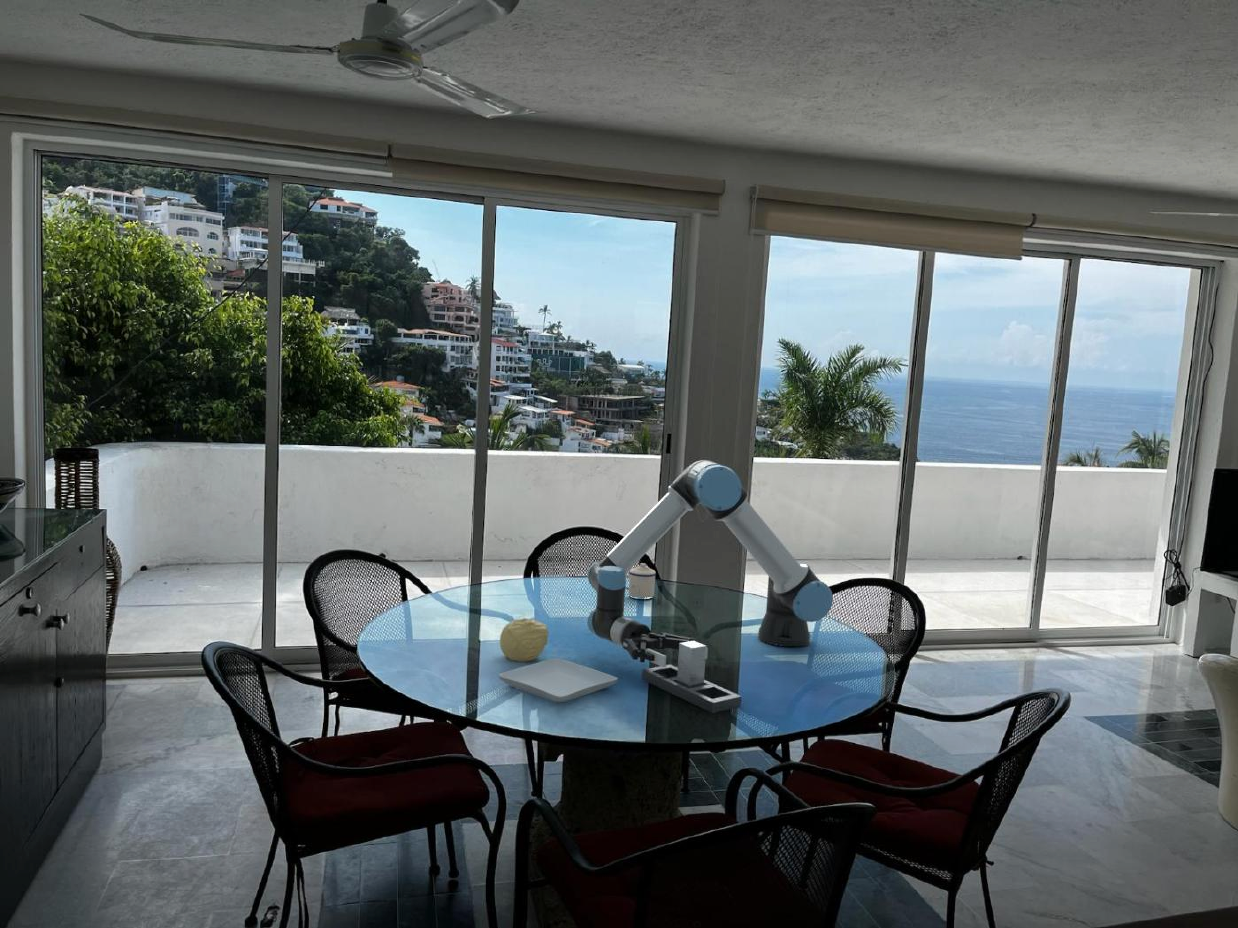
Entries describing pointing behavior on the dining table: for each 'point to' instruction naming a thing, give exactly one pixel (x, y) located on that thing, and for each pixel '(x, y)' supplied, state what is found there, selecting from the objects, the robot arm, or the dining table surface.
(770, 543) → the robot arm
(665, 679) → the rack rail
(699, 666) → the grey upright post
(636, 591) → the teacup with lid
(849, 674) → the dining table surface
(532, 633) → the yellow round lump
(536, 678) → the salad plate
